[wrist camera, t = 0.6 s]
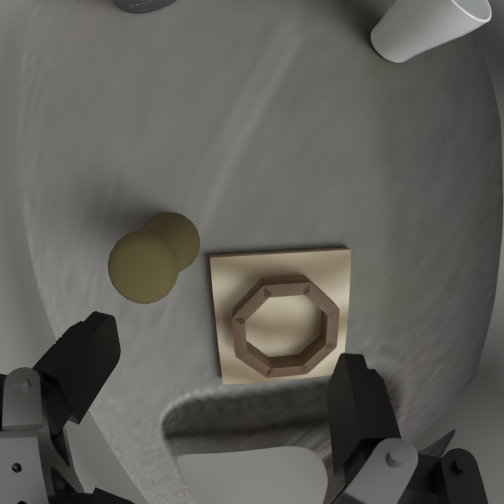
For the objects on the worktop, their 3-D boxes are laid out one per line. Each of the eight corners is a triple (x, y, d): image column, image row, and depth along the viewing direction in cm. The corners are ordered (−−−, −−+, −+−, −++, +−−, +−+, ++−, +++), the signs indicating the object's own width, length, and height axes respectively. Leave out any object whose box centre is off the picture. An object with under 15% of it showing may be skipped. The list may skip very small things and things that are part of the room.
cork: (172, 283, 30) (141, 332, 20) (131, 241, 29) (81, 272, 18) (212, 243, 30) (198, 276, 19) (169, 199, 28) (132, 209, 18)
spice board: (210, 254, 30) (207, 264, 26) (347, 247, 30) (359, 254, 27) (223, 378, 33) (222, 396, 30) (339, 367, 34) (347, 384, 30)
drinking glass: (351, 29, 25) (412, -43, 10) (390, 17, 24) (456, -42, 10) (385, 77, 26) (469, 27, 12) (422, 61, 26) (503, 19, 11)
